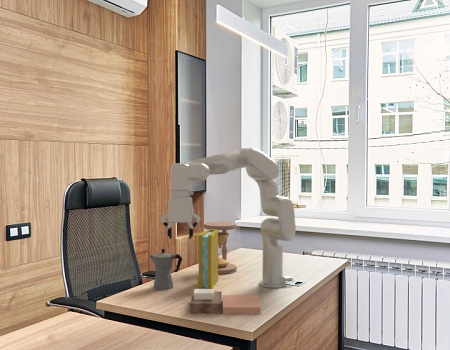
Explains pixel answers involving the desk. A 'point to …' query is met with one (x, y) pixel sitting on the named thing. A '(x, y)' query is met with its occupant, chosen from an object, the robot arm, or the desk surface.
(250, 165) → the robot arm
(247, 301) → the mat
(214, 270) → the book
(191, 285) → the desk surface
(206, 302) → the deck
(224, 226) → the hourglass
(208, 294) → the tile
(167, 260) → the coffeepot
